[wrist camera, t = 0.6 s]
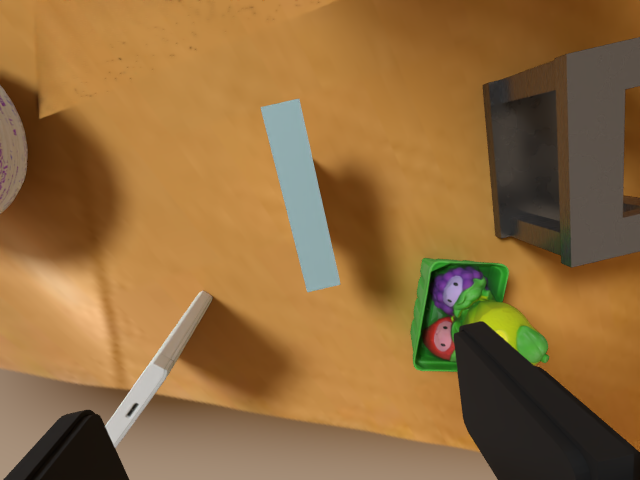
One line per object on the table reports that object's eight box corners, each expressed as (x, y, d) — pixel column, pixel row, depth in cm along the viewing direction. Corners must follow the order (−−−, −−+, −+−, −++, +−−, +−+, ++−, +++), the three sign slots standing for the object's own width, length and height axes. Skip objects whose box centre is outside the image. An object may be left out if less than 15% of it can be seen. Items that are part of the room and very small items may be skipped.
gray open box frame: (482, 84, 31) (566, 54, 21) (611, 55, 31) (752, 11, 22) (495, 236, 35) (571, 267, 25) (610, 209, 35) (728, 230, 26)
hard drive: (214, 297, 35) (172, 373, 23) (173, 354, 36) (112, 455, 24) (200, 288, 34) (150, 361, 22) (160, 347, 36) (91, 445, 24)
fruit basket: (412, 245, 35) (465, 287, 24) (492, 250, 36) (579, 293, 25) (397, 342, 38) (438, 419, 27) (472, 345, 38) (541, 421, 27)
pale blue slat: (271, 121, 31) (260, 107, 21) (298, 115, 31) (299, 98, 21) (304, 252, 34) (307, 292, 24) (327, 247, 34) (340, 284, 24)
